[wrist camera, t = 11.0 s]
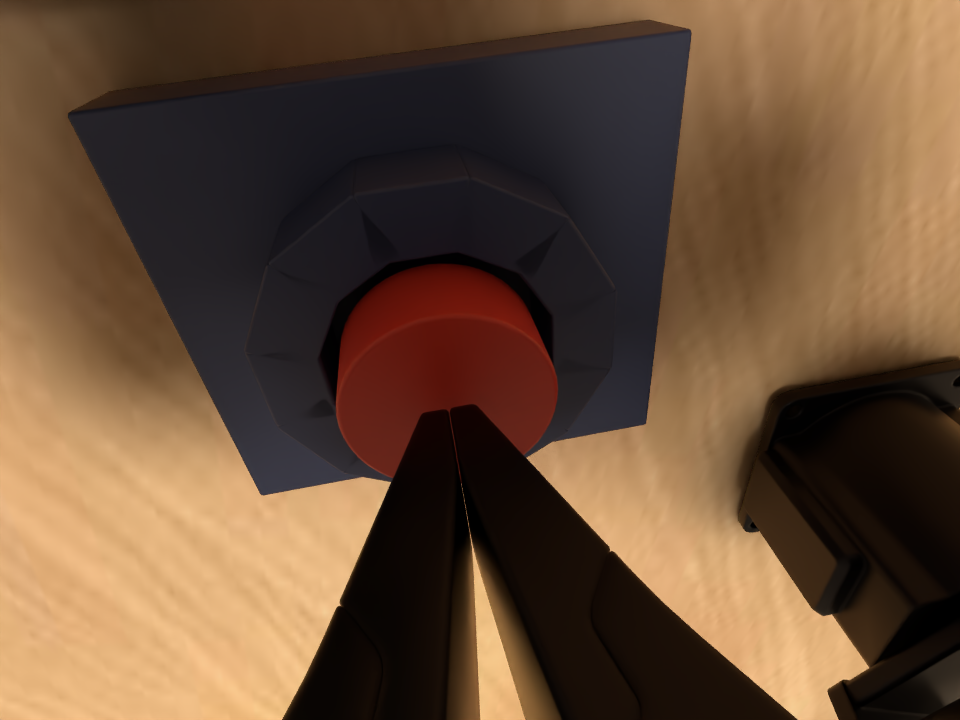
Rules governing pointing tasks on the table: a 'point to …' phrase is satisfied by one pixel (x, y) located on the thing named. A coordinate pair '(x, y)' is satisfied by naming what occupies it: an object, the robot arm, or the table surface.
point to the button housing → (402, 216)
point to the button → (440, 361)
